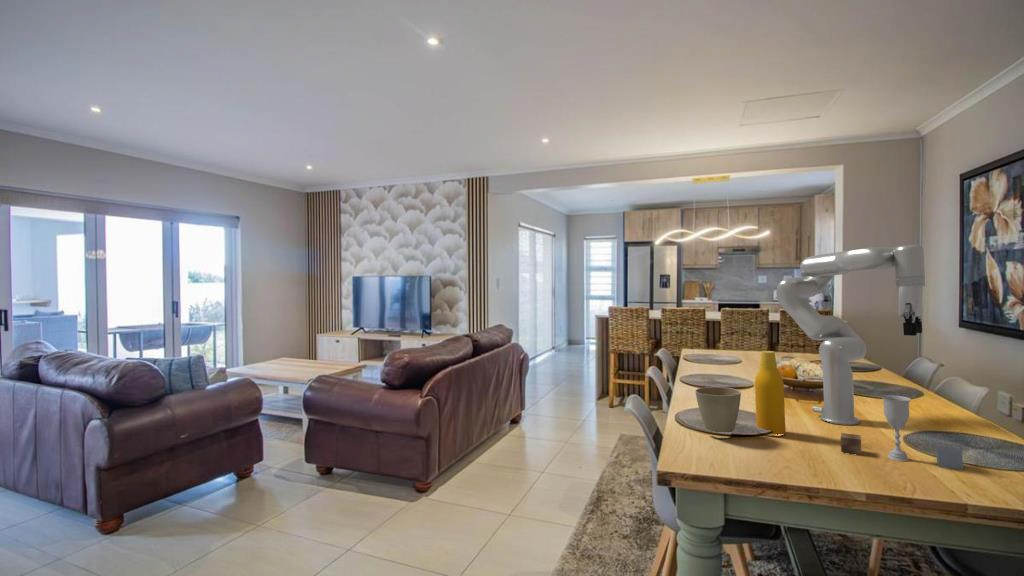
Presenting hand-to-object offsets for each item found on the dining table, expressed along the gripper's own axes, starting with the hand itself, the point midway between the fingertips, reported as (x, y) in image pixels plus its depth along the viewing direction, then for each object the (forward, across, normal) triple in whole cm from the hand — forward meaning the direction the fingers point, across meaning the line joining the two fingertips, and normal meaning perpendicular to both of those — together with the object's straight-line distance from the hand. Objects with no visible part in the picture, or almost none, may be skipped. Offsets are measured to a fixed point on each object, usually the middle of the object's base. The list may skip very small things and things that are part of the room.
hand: (913, 334), depth 159 cm
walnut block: (+35, +27, -12) cm, 46 cm away
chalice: (+35, +24, -1) cm, 43 cm away
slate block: (+35, +22, +10) cm, 43 cm away
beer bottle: (+35, +23, -37) cm, 56 cm away
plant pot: (+35, +38, -49) cm, 71 cm away
